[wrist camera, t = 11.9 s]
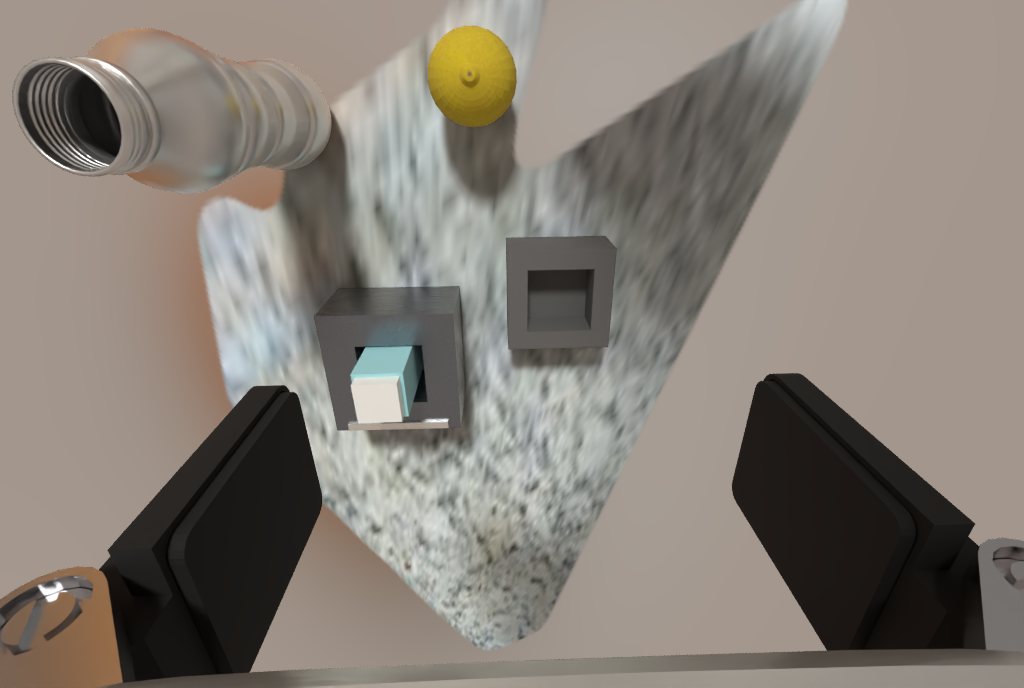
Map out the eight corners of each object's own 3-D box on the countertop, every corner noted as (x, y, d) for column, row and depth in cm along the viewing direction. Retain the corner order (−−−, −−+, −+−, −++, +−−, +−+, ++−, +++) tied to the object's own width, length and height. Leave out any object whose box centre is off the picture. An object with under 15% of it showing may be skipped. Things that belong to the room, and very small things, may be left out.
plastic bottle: (243, 149, 35) (-23, 190, 17) (251, 46, 32) (-56, -34, 14) (332, 177, 36) (169, 243, 18) (347, 80, 33) (172, 43, 15)
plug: (379, 321, 40) (345, 382, 31) (421, 320, 40) (400, 380, 31) (385, 358, 42) (355, 426, 33) (425, 357, 42) (406, 424, 33)
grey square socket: (506, 237, 39) (507, 250, 35) (605, 236, 39) (616, 248, 35) (507, 329, 42) (508, 349, 38) (598, 327, 42) (608, 347, 39)
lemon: (525, 107, 35) (533, 106, 27) (454, 137, 35) (443, 144, 28) (497, 21, 32) (497, -5, 25) (422, 55, 33) (401, 39, 26)
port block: (338, 288, 40) (313, 317, 34) (459, 286, 40) (452, 314, 35) (356, 391, 44) (336, 431, 39) (465, 388, 45) (460, 428, 39)
